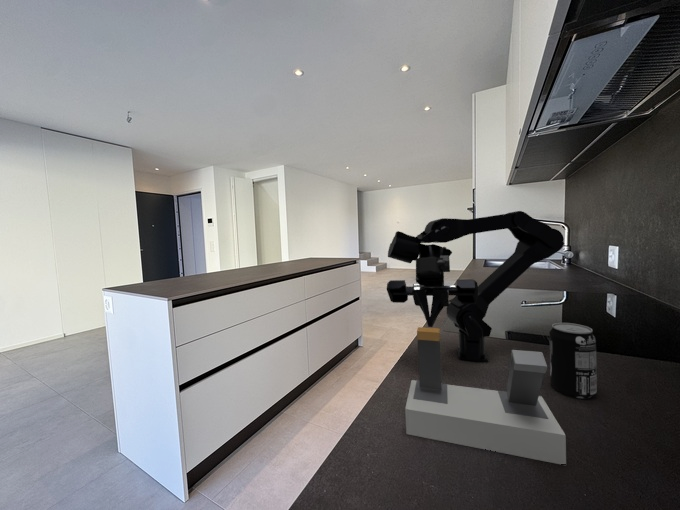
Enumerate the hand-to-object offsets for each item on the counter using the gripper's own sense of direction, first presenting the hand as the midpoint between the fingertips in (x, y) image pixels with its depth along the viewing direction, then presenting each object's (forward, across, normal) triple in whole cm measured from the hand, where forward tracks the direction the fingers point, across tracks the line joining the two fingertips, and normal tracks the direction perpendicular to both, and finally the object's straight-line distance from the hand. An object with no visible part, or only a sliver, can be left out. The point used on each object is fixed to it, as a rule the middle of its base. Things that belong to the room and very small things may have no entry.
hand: (430, 326), depth 55 cm
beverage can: (+6, +24, +12) cm, 28 cm away
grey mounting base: (+17, +7, 0) cm, 18 cm away
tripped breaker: (+12, 0, -2) cm, 13 cm away
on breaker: (+12, +13, -2) cm, 18 cm away
